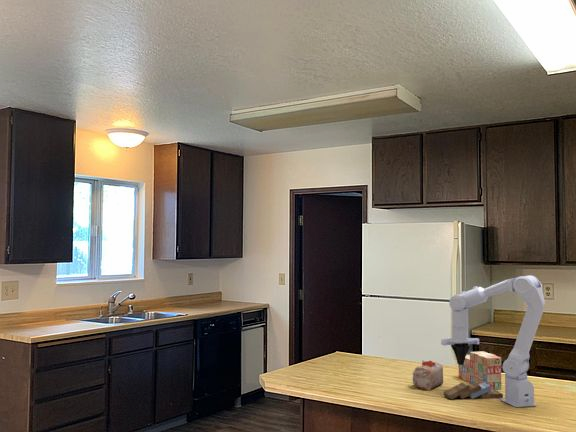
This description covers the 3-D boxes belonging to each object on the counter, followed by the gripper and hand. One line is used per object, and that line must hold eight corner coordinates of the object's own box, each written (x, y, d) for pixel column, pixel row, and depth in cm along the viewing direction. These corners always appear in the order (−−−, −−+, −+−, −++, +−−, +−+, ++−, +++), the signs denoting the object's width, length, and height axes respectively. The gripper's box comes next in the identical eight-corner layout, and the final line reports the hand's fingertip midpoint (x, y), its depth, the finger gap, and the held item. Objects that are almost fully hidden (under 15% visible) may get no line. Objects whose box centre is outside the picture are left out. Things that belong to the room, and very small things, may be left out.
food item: (431, 392, 212) (430, 365, 213) (411, 388, 217) (410, 362, 218) (445, 384, 223) (445, 359, 224) (426, 381, 228) (425, 356, 228)
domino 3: (475, 395, 208) (495, 394, 209) (481, 399, 203) (502, 398, 204) (475, 391, 208) (495, 390, 209) (481, 394, 203) (502, 393, 204)
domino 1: (444, 396, 206) (463, 386, 207) (451, 399, 201) (470, 389, 203) (442, 392, 206) (461, 382, 207) (449, 395, 201) (468, 385, 203)
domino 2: (456, 395, 207) (475, 386, 208) (461, 399, 202) (481, 389, 203) (454, 391, 207) (473, 381, 208) (460, 394, 202) (479, 385, 203)
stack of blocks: (458, 377, 235) (457, 347, 236) (471, 377, 237) (471, 347, 237) (487, 390, 215) (486, 357, 215) (502, 390, 216) (501, 357, 217)
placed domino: (466, 395, 207) (485, 386, 208) (471, 399, 202) (492, 389, 203) (464, 391, 207) (484, 382, 208) (470, 394, 202) (490, 385, 203)
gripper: (471, 325, 217) (472, 361, 217) (437, 326, 214) (437, 362, 213) (482, 327, 211) (482, 365, 210) (446, 328, 207) (446, 366, 207)
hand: (460, 364), depth 211 cm, fingers closed
